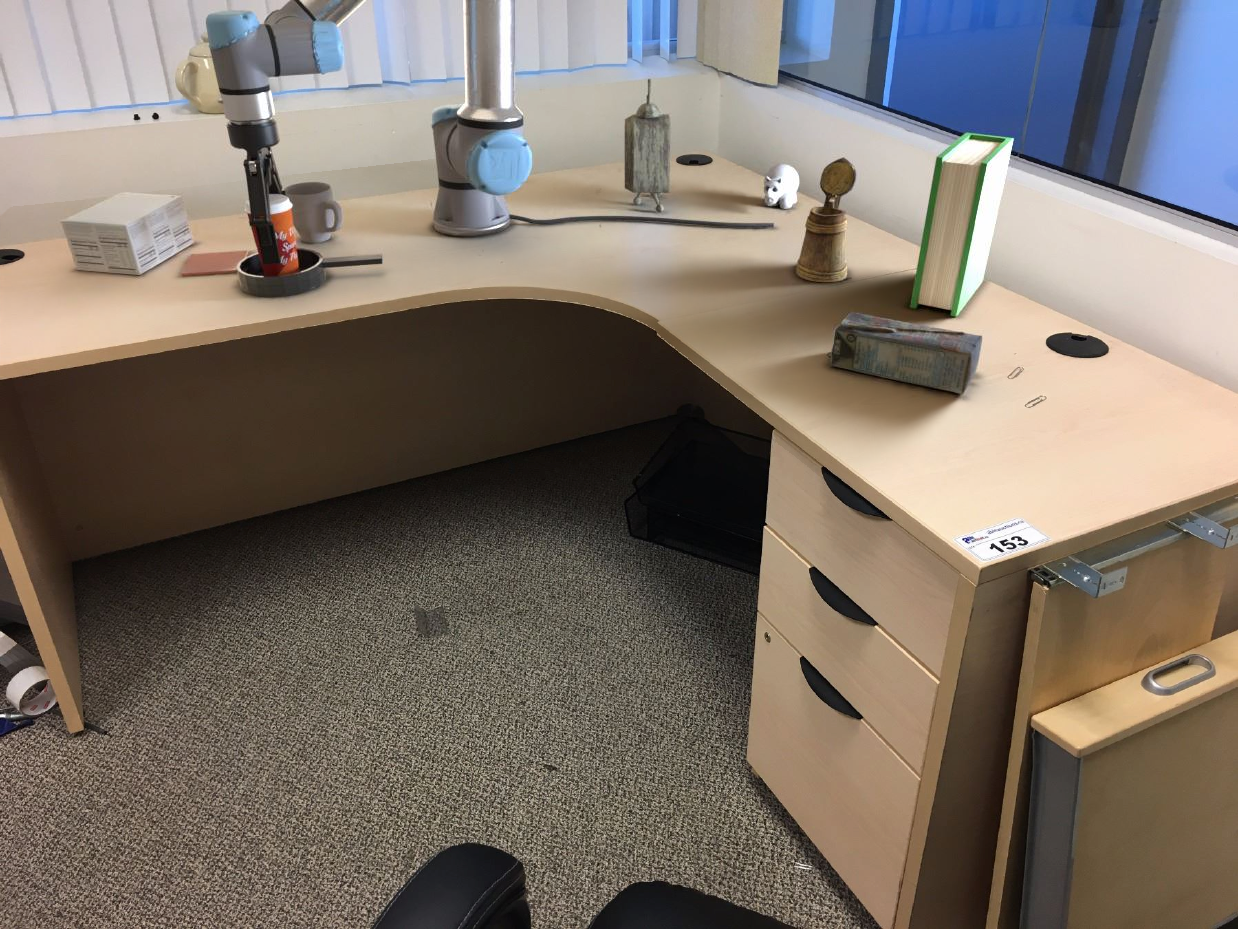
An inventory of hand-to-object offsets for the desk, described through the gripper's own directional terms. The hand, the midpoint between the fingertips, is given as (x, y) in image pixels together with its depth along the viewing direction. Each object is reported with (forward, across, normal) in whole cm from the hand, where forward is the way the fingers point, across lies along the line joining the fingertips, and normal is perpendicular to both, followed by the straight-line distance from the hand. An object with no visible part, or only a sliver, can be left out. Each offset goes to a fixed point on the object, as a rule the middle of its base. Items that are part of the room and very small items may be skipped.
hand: (276, 249), depth 160 cm
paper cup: (+6, 0, 0) cm, 6 cm away
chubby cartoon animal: (+5, -22, +97) cm, 100 cm away
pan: (+6, 0, 0) cm, 6 cm away
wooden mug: (+5, +13, +94) cm, 95 cm away
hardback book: (+5, +28, +110) cm, 114 cm away
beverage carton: (+5, +53, +90) cm, 105 cm away
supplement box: (+6, -18, -28) cm, 34 cm away
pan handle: (+3, 0, +12) cm, 13 cm away
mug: (+6, -21, +5) cm, 22 cm away
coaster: (+6, -11, -13) cm, 18 cm away
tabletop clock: (+5, -30, +71) cm, 77 cm away
